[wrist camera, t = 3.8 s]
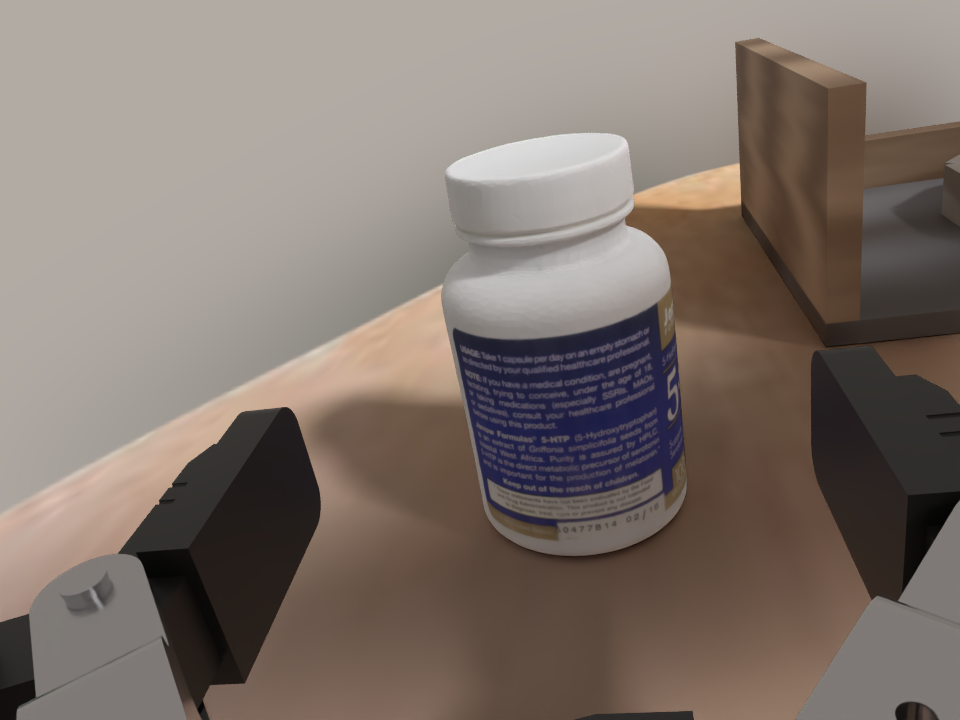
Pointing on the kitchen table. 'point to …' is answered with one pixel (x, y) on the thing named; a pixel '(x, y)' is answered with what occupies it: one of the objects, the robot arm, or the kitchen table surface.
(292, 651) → the kitchen table surface
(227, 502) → the robot arm
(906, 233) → the walled box
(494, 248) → the pill bottle
